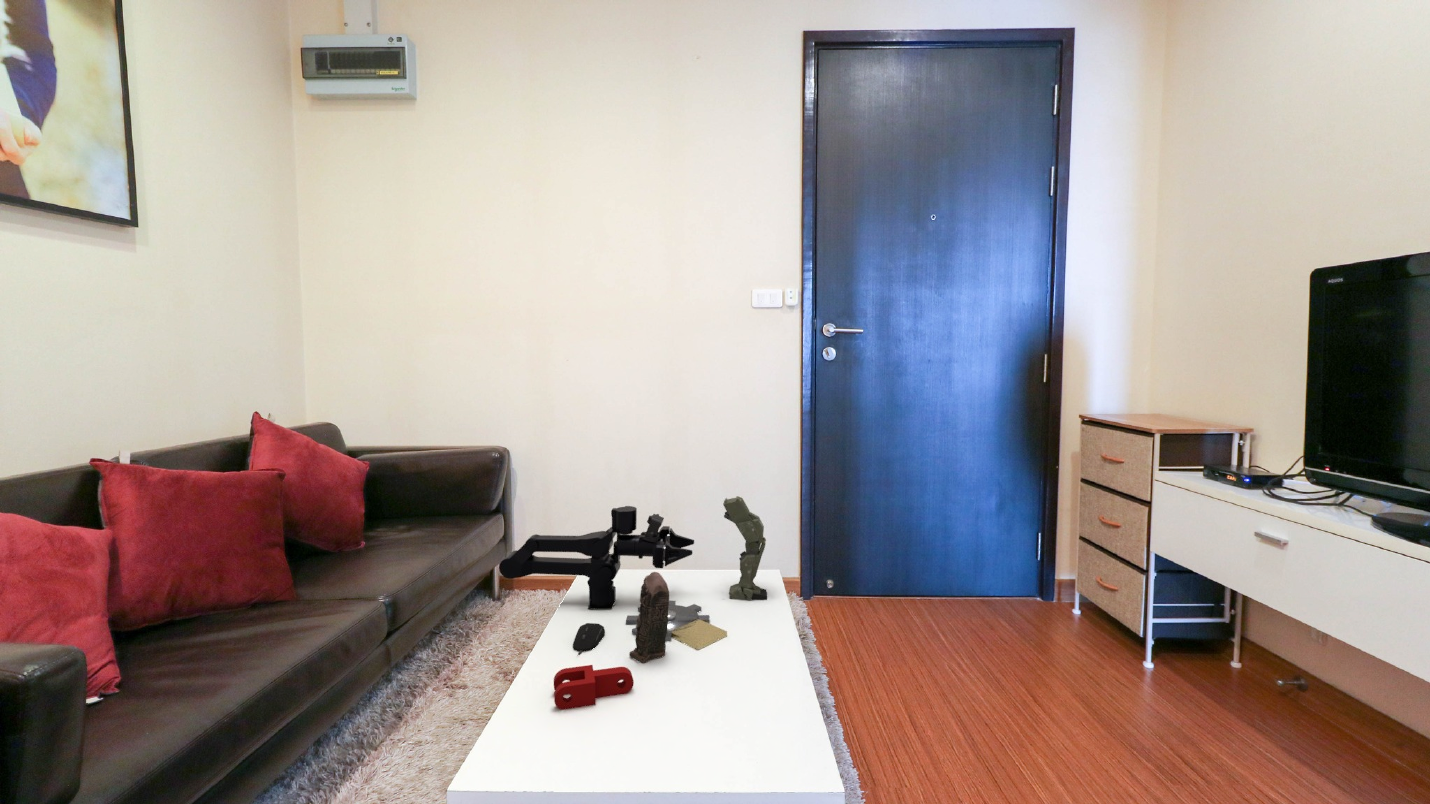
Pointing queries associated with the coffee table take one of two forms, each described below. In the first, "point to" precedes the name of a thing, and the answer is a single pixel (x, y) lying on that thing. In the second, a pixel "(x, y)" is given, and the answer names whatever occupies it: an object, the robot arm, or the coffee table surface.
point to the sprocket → (686, 626)
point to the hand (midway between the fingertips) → (693, 547)
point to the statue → (652, 619)
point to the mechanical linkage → (589, 685)
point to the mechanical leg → (747, 549)
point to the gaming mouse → (588, 637)
